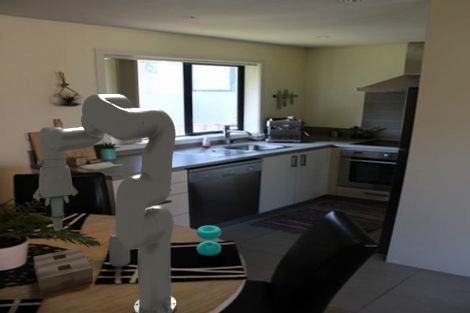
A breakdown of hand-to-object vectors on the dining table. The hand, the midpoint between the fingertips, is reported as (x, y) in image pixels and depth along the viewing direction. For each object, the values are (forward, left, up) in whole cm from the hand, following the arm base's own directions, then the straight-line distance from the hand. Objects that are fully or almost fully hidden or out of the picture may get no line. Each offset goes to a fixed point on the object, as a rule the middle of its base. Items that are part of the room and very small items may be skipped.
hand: (57, 213), depth 136 cm
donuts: (-12, -54, -22) cm, 60 cm away
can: (-4, -20, -22) cm, 30 cm away
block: (-3, 0, -22) cm, 22 cm away
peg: (0, 0, -6) cm, 6 cm away
